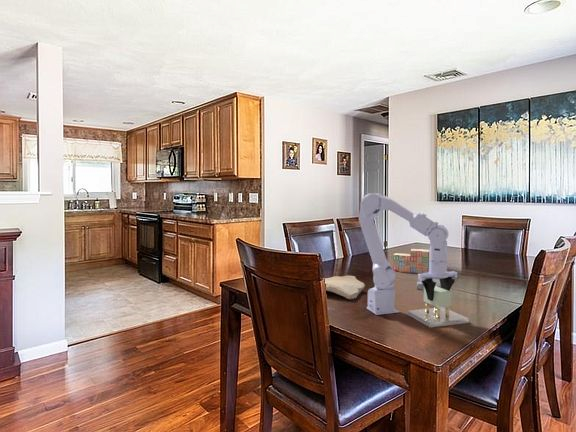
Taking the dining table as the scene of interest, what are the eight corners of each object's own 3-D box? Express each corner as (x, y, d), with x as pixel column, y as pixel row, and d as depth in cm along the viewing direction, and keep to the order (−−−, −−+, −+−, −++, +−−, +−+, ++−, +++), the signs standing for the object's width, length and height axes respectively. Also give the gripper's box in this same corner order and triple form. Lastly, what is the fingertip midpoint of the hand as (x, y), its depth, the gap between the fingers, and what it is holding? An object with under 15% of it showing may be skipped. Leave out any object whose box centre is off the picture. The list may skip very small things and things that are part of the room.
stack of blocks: (392, 271, 206) (393, 249, 205) (394, 269, 212) (394, 247, 211) (434, 274, 197) (434, 251, 196) (434, 272, 203) (435, 249, 202)
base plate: (430, 327, 122) (430, 314, 122) (407, 314, 135) (407, 302, 134) (468, 322, 126) (468, 309, 126) (442, 310, 139) (443, 298, 138)
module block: (438, 307, 126) (438, 292, 125) (423, 301, 133) (423, 287, 133) (450, 306, 127) (451, 291, 127) (435, 299, 135) (435, 286, 134)
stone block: (444, 290, 173) (423, 283, 178) (446, 281, 172) (425, 274, 177) (436, 297, 163) (414, 289, 169) (439, 287, 162) (416, 280, 168)
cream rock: (319, 286, 180) (298, 292, 163) (320, 270, 180) (300, 275, 163) (367, 295, 167) (350, 302, 150) (369, 278, 167) (352, 284, 150)
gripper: (427, 264, 123) (426, 304, 124) (464, 261, 127) (463, 300, 128) (414, 260, 130) (413, 298, 131) (449, 257, 134) (449, 295, 135)
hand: (437, 299), depth 130 cm, fingers closed on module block, 5 cm apart
